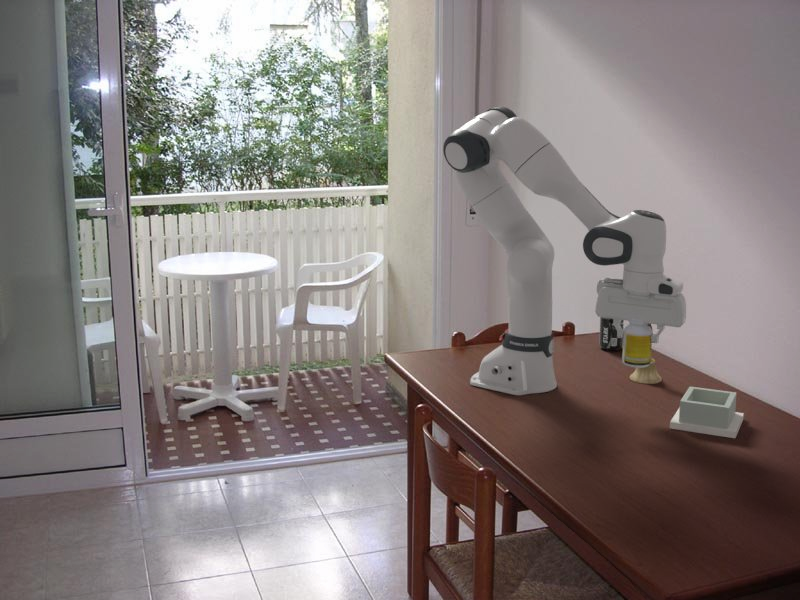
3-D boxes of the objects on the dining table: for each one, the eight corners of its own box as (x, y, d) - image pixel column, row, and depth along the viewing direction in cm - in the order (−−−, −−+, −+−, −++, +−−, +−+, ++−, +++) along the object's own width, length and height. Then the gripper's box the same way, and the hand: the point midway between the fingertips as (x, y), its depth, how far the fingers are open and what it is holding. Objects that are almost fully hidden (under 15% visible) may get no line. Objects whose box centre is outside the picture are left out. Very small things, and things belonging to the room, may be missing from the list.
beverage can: (597, 345, 266) (599, 306, 263) (620, 345, 265) (622, 306, 262) (600, 351, 259) (601, 311, 256) (624, 351, 258) (625, 312, 256)
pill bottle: (651, 369, 202) (655, 320, 199) (622, 367, 203) (625, 319, 201) (648, 361, 208) (652, 313, 206) (620, 359, 209) (624, 312, 207)
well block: (669, 428, 198) (671, 400, 197) (681, 410, 209) (682, 384, 208) (735, 438, 192) (737, 410, 190) (743, 419, 203) (745, 392, 202)
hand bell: (660, 385, 228) (663, 325, 224) (627, 382, 231) (630, 323, 227) (663, 376, 235) (666, 318, 232) (631, 373, 238) (634, 316, 235)
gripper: (593, 279, 203) (589, 336, 206) (685, 289, 194) (679, 349, 197) (601, 274, 209) (597, 330, 212) (690, 284, 199) (684, 343, 203)
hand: (637, 340), depth 204 cm, fingers closed on pill bottle, 6 cm apart
